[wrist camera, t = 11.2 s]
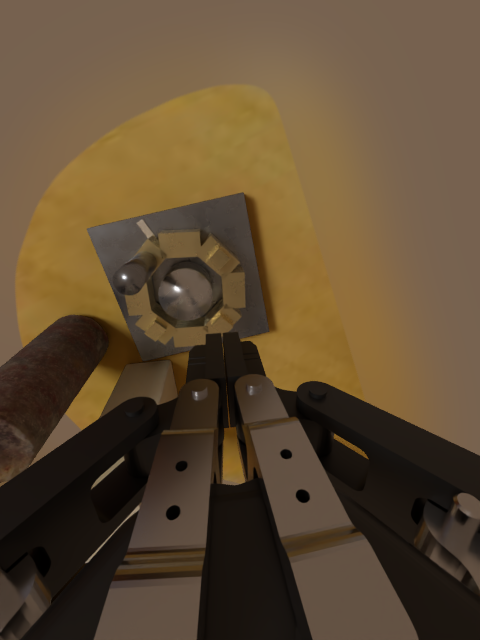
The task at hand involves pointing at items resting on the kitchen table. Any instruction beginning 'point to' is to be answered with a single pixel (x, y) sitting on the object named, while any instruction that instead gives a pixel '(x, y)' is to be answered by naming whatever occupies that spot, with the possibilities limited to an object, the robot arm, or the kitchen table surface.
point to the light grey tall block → (140, 383)
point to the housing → (185, 267)
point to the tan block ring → (153, 318)
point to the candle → (44, 387)
